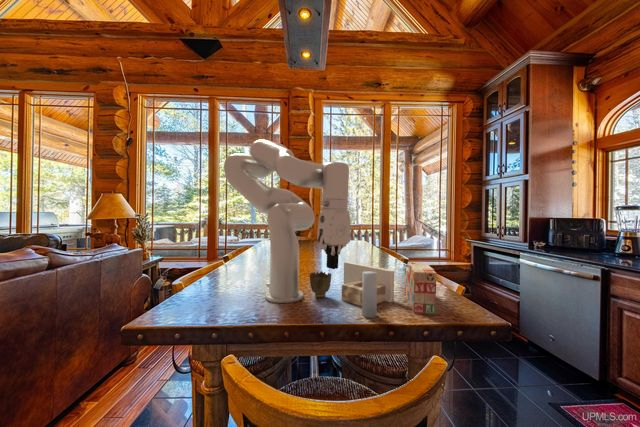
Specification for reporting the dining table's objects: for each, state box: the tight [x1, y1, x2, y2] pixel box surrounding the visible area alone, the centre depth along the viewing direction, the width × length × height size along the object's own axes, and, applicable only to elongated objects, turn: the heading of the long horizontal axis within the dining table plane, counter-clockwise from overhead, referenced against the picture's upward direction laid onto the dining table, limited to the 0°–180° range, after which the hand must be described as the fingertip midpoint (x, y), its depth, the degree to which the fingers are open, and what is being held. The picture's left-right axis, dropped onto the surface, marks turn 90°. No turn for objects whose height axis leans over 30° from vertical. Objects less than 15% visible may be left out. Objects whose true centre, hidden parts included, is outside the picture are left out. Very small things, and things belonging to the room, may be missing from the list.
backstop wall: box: [343, 261, 395, 303], centre depth 100 cm, size 20×2×10 cm, turn 44°
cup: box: [308, 270, 332, 299], centre depth 97 cm, size 8×7×8 cm
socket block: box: [341, 280, 386, 307], centre depth 94 cm, size 10×10×5 cm
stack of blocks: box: [404, 263, 438, 315], centre depth 93 cm, size 21×6×12 cm, turn 170°
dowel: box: [361, 271, 378, 319], centre depth 81 cm, size 4×4×12 cm
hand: (332, 267), depth 85 cm, fingers closed
